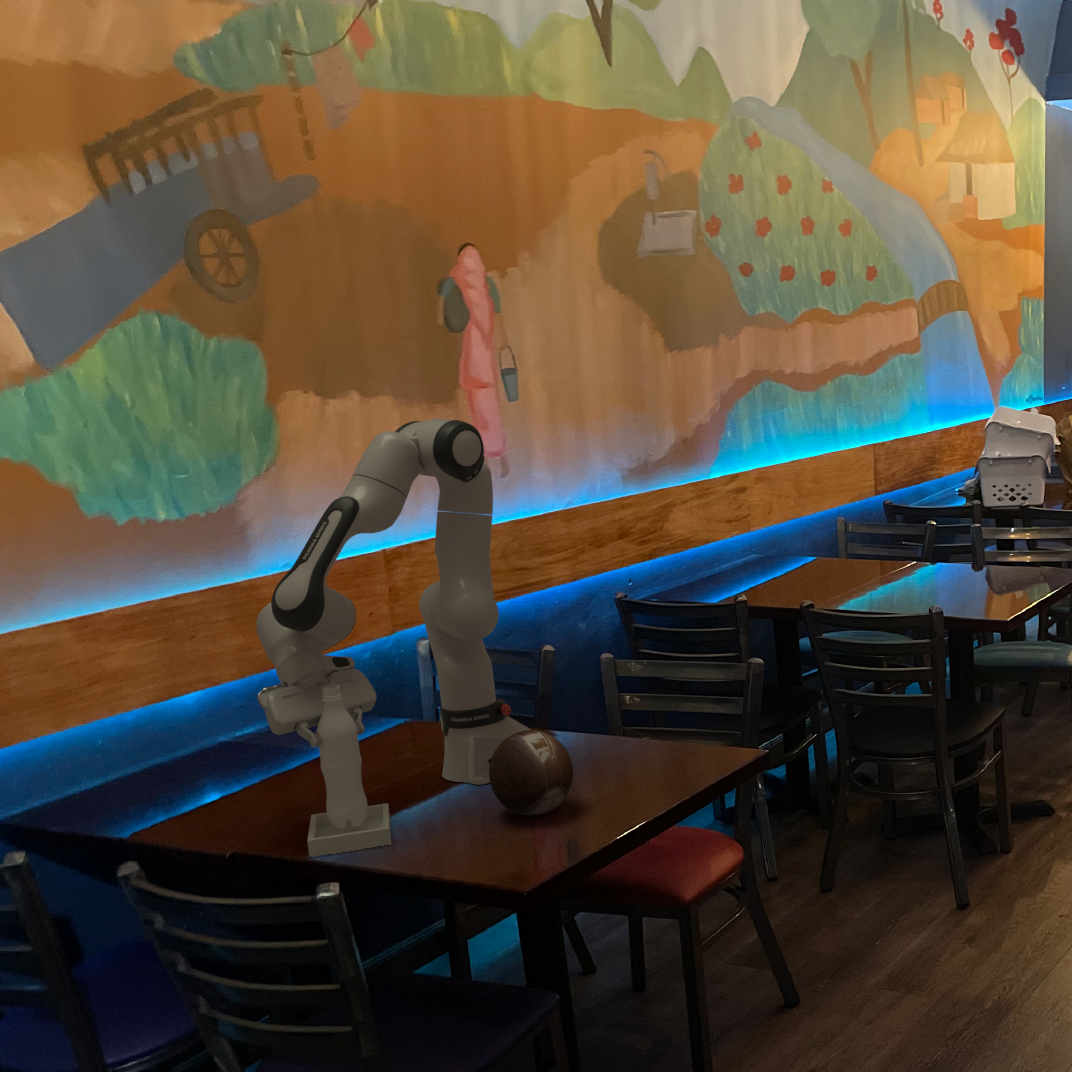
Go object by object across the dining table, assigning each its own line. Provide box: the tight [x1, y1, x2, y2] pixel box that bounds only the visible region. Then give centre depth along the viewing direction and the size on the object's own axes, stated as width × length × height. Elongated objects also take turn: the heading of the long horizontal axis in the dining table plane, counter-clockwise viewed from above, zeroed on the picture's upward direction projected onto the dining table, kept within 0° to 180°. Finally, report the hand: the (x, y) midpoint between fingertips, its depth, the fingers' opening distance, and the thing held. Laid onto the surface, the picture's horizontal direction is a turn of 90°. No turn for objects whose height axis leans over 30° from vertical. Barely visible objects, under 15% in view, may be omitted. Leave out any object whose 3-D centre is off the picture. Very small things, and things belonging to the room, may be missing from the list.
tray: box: [306, 802, 392, 858], centre depth 214 cm, size 14×14×3 cm
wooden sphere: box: [489, 729, 574, 817], centre depth 216 cm, size 15×15×15 cm
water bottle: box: [316, 684, 369, 829], centre depth 213 cm, size 7×7×25 cm
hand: (339, 738), depth 212 cm, fingers closed on water bottle, 7 cm apart
